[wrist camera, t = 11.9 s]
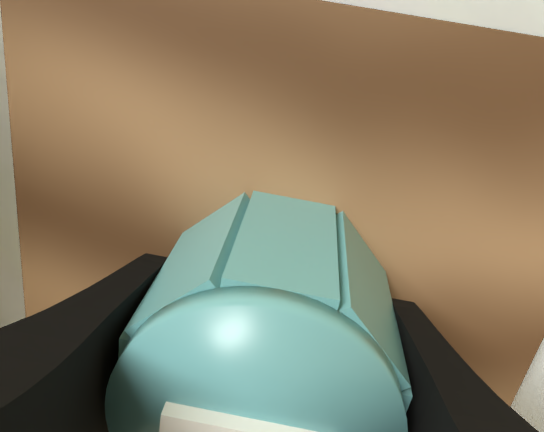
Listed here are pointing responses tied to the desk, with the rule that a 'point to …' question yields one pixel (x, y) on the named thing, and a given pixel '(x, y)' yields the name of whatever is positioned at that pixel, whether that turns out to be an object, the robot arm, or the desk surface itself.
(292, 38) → the post fixture
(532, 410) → the desk surface
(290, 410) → the cap
